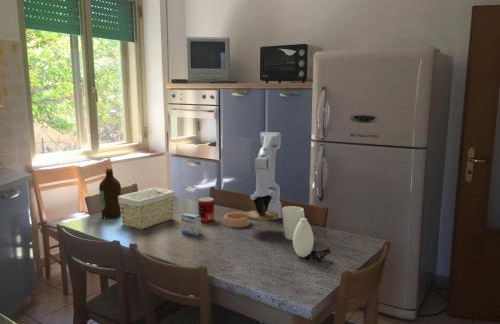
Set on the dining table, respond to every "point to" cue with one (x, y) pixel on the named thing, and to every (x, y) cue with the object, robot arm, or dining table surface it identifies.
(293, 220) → the foam cup
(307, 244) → the sauce bottle
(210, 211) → the canned food
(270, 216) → the lid
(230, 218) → the bowl
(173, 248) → the dining table surface
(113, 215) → the olive oil
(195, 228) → the medicine box
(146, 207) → the storage basket
